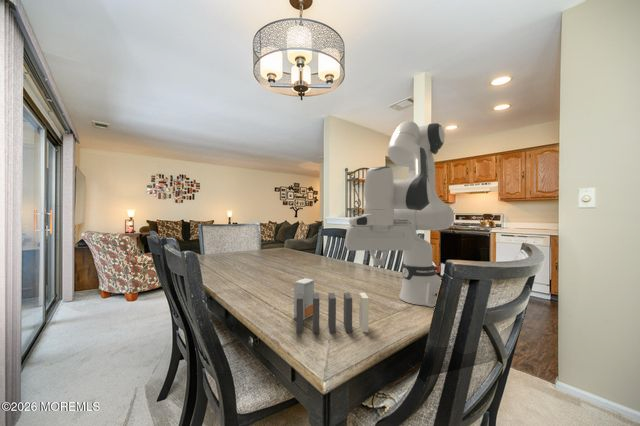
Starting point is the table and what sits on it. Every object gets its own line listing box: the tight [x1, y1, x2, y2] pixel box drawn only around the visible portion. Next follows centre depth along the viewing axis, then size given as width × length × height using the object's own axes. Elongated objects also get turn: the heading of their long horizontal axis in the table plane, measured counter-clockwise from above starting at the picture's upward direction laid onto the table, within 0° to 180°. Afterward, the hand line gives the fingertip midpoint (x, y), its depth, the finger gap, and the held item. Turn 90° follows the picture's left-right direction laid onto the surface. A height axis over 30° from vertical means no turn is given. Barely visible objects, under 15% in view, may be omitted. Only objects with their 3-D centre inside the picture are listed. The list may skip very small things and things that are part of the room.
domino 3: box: [327, 292, 337, 334], centre depth 76 cm, size 2×5×10 cm, turn 3°
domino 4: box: [343, 292, 353, 334], centre depth 77 cm, size 2×5×10 cm, turn 3°
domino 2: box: [312, 292, 320, 334], centre depth 76 cm, size 2×5×10 cm, turn 3°
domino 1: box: [295, 293, 304, 334], centre depth 76 cm, size 2×5×10 cm, turn 3°
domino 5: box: [358, 292, 370, 333], centre depth 77 cm, size 2×5×10 cm, turn 2°
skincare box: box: [293, 277, 315, 321], centre depth 86 cm, size 6×4×12 cm
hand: (378, 265), depth 77 cm, fingers closed
